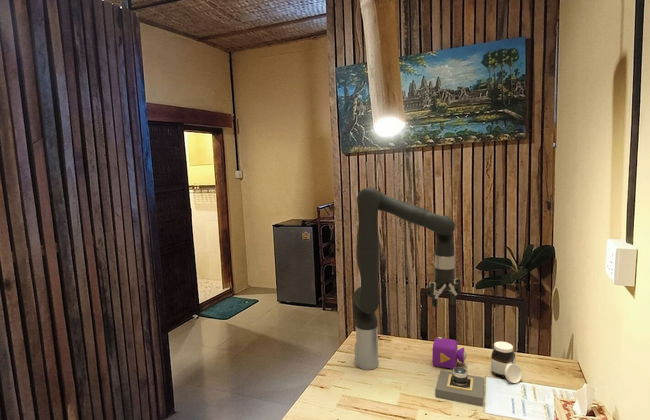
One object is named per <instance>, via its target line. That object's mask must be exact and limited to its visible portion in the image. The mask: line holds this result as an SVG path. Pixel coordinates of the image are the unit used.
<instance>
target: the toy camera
mask: <svg viewBox="0 0 650 420" xmlns="http://www.w3.org/2000/svg"><path fill="white" fill-rule="evenodd" d="M467 355H468V354H467V352H466V351H465V347H464V346H463V347H462V348H461V347H460V348H459V349H458V341H457V340H455V339H452V338H451V339H450V338H443V337H442V336H438V337H436V338H435V339H434V341H433V344H432V364H433V366H435V367H439V368H444V369H452V370H453V368H455V367H457V365H458V364H457V363H458V361H459V362H461V364H464V363H465V360H466V359H467Z"/></svg>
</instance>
